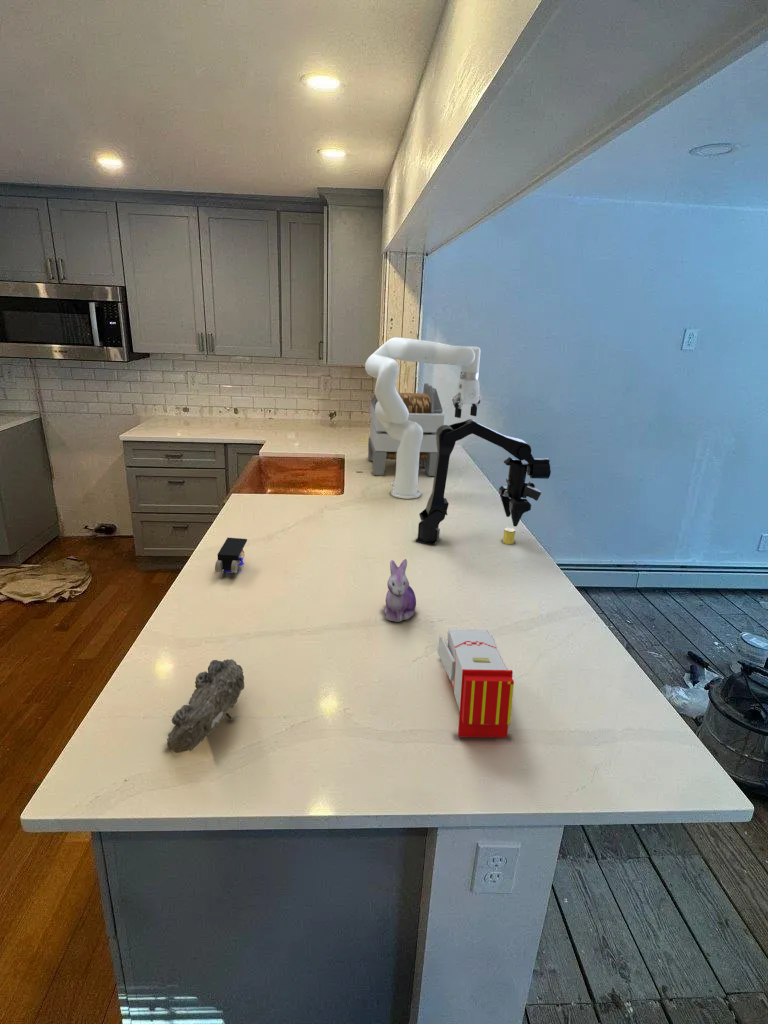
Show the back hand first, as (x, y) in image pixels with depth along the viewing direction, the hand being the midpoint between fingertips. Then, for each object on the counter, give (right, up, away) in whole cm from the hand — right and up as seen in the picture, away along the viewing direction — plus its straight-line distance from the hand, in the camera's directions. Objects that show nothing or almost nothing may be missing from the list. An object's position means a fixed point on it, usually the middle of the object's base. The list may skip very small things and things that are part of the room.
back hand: (465, 416), depth 247 cm
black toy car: (-80, -59, -79) cm, 127 cm away
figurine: (-32, -68, -100) cm, 125 cm away
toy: (-18, -79, -128) cm, 152 cm away
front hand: (+8, -45, -52) cm, 70 cm away
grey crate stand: (-26, -19, +37) cm, 49 cm away
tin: (+8, -52, -50) cm, 73 cm away
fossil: (-68, -81, -139) cm, 175 cm away
